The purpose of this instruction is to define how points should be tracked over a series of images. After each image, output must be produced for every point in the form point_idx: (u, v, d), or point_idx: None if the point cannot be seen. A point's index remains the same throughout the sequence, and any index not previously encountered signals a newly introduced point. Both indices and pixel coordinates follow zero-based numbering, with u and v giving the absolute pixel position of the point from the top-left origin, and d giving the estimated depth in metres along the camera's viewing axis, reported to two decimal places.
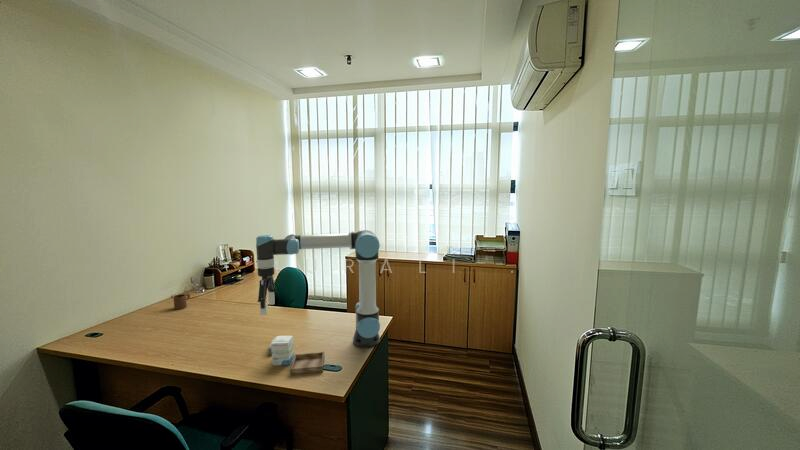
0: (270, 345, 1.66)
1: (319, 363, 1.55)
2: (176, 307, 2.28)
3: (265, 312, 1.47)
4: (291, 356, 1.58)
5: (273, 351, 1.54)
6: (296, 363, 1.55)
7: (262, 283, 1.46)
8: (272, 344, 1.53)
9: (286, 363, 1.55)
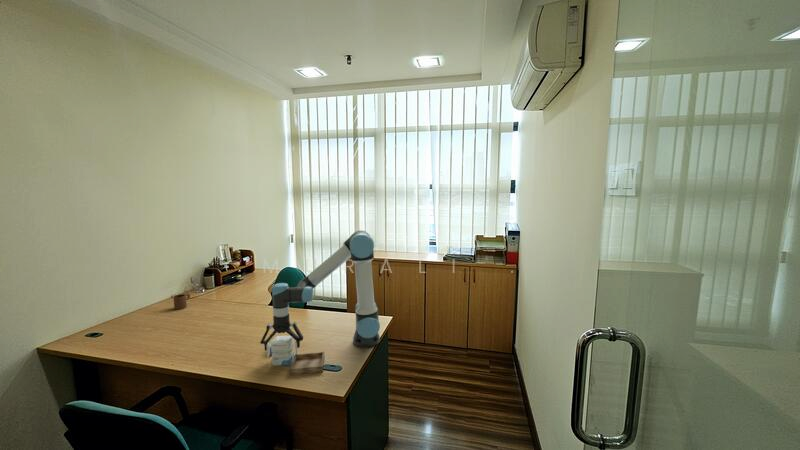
0: (270, 345, 1.66)
1: (319, 363, 1.55)
2: (176, 307, 2.28)
3: (267, 354, 1.56)
4: (291, 356, 1.58)
5: (273, 351, 1.54)
6: (296, 363, 1.55)
7: None
8: (272, 344, 1.53)
9: (286, 363, 1.55)
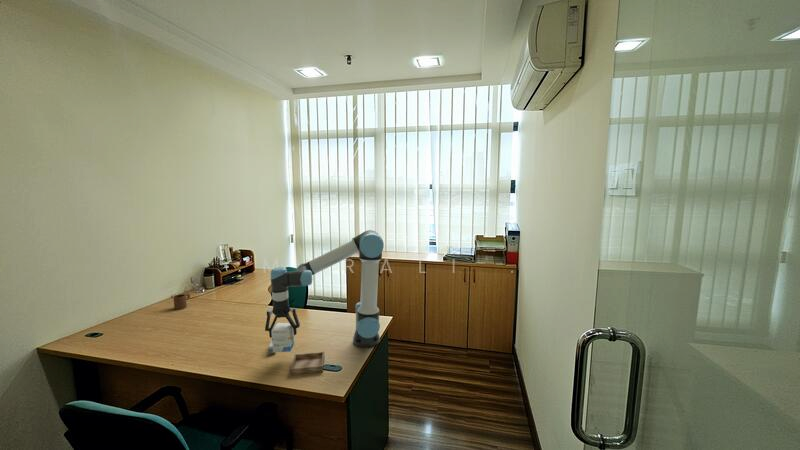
0: (269, 345, 1.66)
1: (319, 363, 1.55)
2: (176, 307, 2.28)
3: None
4: (292, 343, 1.58)
5: (273, 338, 1.53)
6: (296, 363, 1.55)
7: None
8: (273, 331, 1.53)
9: (287, 350, 1.54)
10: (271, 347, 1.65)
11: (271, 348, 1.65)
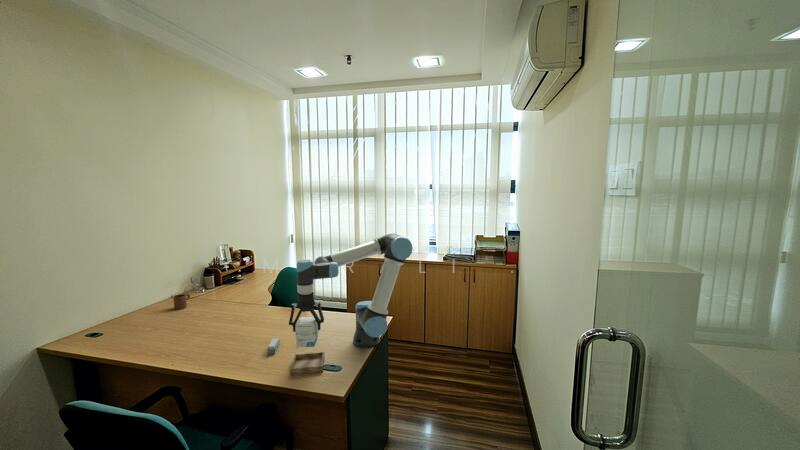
0: (269, 345, 1.66)
1: (319, 363, 1.55)
2: (176, 307, 2.28)
3: None
4: (315, 338, 1.52)
5: (298, 332, 1.48)
6: (296, 363, 1.55)
7: None
8: (297, 325, 1.48)
9: (311, 345, 1.49)
10: (271, 347, 1.65)
11: (271, 348, 1.65)
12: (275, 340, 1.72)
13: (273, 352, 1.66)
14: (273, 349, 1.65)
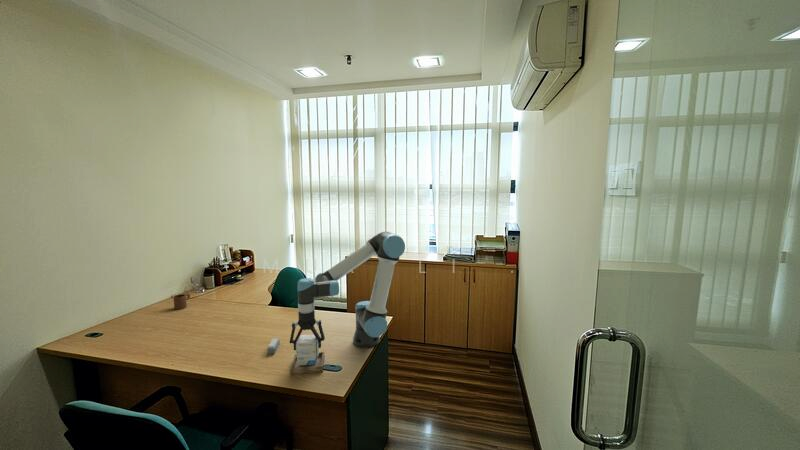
0: (269, 345, 1.67)
1: (319, 363, 1.55)
2: (176, 307, 2.28)
3: (296, 354, 1.52)
4: (316, 356, 1.53)
5: (298, 350, 1.49)
6: (296, 363, 1.55)
7: None
8: (298, 343, 1.49)
9: (311, 363, 1.50)
10: (270, 347, 1.65)
11: (270, 348, 1.65)
12: (275, 340, 1.72)
13: (273, 352, 1.66)
14: (273, 349, 1.65)
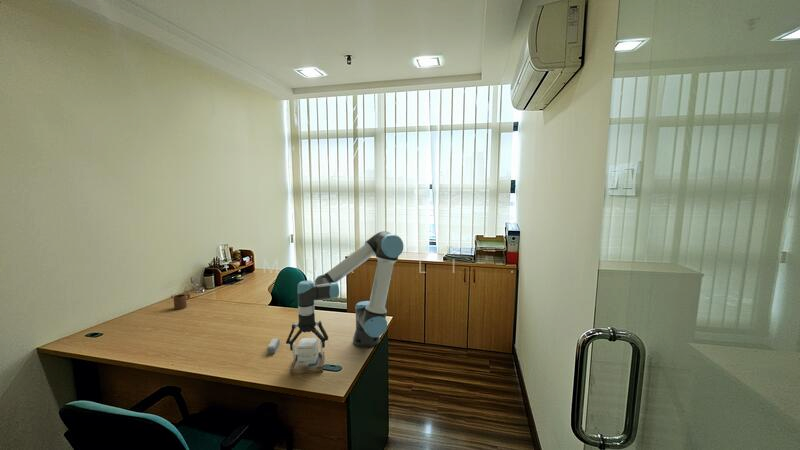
0: (269, 345, 1.67)
1: (319, 363, 1.55)
2: (176, 307, 2.28)
3: (293, 355, 1.51)
4: (316, 359, 1.54)
5: (299, 354, 1.49)
6: (296, 363, 1.55)
7: None
8: (298, 347, 1.49)
9: None
10: (270, 347, 1.65)
11: (270, 348, 1.65)
12: (275, 340, 1.72)
13: (273, 352, 1.66)
14: (273, 349, 1.66)
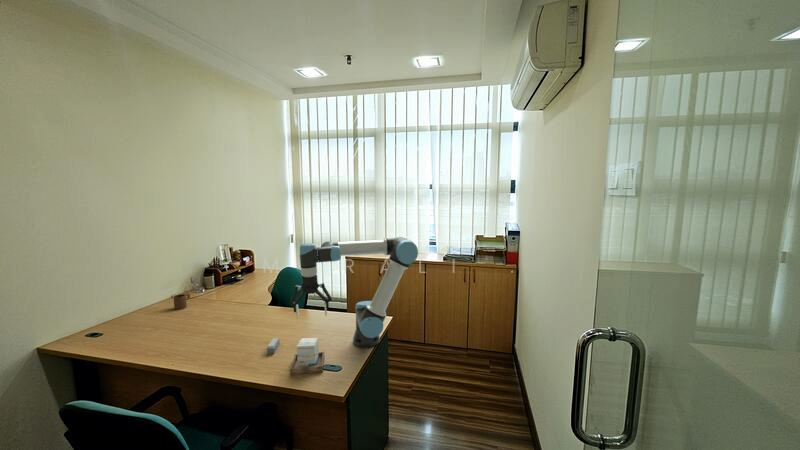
0: (269, 345, 1.67)
1: (319, 363, 1.55)
2: (176, 307, 2.28)
3: None
4: (316, 359, 1.54)
5: (299, 354, 1.49)
6: (296, 363, 1.55)
7: (295, 288, 1.53)
8: (298, 347, 1.49)
9: None
10: (270, 347, 1.65)
11: (270, 348, 1.65)
12: (275, 340, 1.72)
13: (272, 352, 1.66)
14: (272, 349, 1.66)
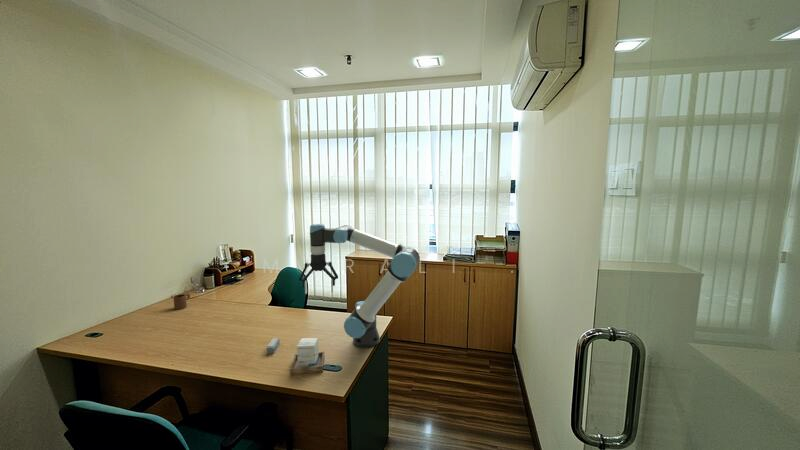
0: (269, 344, 1.67)
1: (319, 363, 1.55)
2: (176, 307, 2.28)
3: (305, 291, 1.65)
4: (316, 359, 1.54)
5: (299, 354, 1.49)
6: (296, 363, 1.55)
7: None
8: (298, 347, 1.49)
9: None
10: (270, 347, 1.66)
11: (270, 348, 1.66)
12: (275, 340, 1.72)
13: (272, 352, 1.66)
14: (272, 349, 1.66)
